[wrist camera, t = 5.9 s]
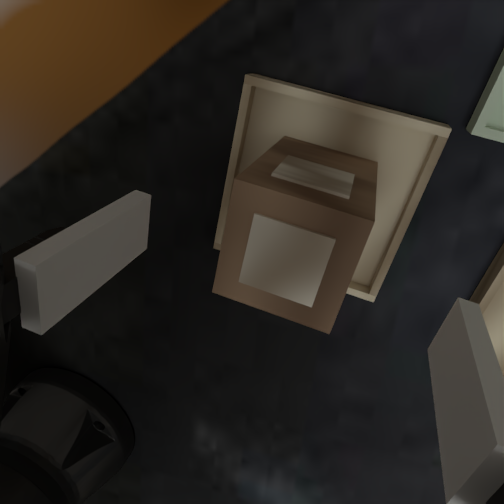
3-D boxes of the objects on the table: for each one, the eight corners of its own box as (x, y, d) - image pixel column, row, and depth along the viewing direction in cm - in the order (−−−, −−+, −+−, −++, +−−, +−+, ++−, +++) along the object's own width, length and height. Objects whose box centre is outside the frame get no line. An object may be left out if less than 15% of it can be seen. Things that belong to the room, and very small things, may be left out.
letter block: (264, 219, 28) (211, 293, 20) (285, 133, 25) (233, 175, 17) (346, 245, 27) (329, 336, 19) (378, 159, 24) (376, 219, 16)
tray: (220, 239, 31) (213, 247, 29) (252, 73, 25) (245, 74, 23) (373, 290, 29) (373, 302, 28) (447, 124, 23) (451, 129, 22)
